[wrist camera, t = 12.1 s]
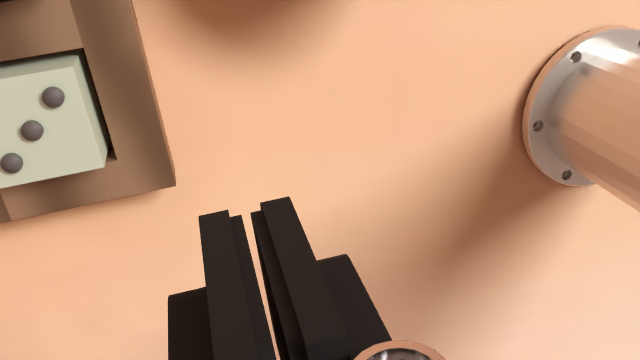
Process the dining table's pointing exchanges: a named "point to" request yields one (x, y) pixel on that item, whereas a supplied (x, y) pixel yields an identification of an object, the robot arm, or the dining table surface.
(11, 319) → the dining table surface
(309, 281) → the robot arm
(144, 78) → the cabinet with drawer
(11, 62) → the pale green block
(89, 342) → the dining table surface
